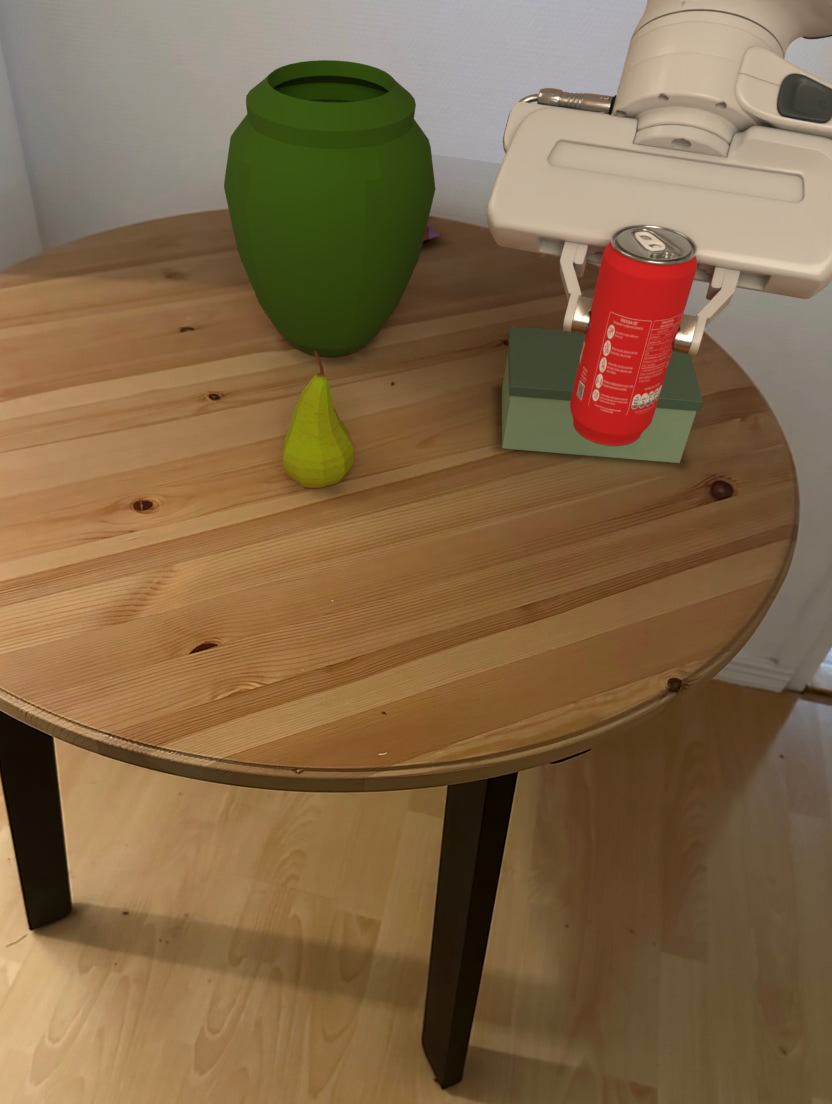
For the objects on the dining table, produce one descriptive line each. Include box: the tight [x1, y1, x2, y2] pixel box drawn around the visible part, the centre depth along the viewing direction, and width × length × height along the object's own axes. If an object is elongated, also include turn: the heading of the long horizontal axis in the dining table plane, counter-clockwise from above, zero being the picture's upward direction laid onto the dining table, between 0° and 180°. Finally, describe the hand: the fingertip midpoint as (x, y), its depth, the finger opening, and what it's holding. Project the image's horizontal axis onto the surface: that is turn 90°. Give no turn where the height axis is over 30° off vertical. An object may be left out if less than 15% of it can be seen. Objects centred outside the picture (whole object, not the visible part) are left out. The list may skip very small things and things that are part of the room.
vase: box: [223, 59, 436, 357], centre depth 93 cm, size 20×20×24 cm
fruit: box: [282, 351, 355, 489], centre depth 81 cm, size 6×6×12 cm
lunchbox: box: [501, 326, 704, 464], centre depth 90 cm, size 16×11×7 cm
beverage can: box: [570, 225, 697, 446], centre depth 59 cm, size 5×5×12 cm
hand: (629, 340), depth 58 cm, fingers closed on beverage can, 5 cm apart
